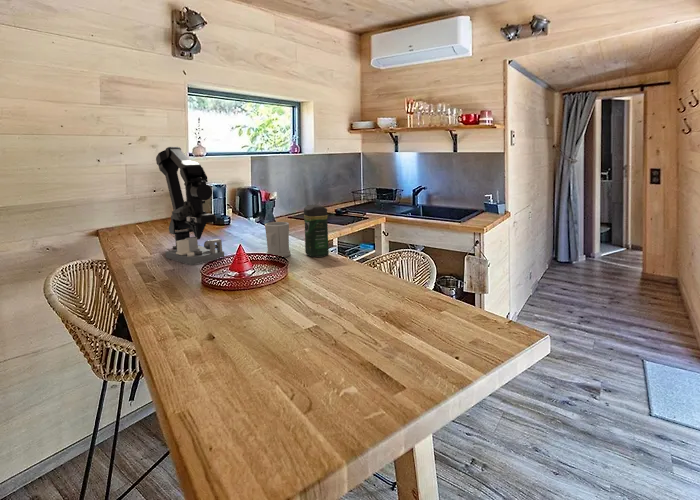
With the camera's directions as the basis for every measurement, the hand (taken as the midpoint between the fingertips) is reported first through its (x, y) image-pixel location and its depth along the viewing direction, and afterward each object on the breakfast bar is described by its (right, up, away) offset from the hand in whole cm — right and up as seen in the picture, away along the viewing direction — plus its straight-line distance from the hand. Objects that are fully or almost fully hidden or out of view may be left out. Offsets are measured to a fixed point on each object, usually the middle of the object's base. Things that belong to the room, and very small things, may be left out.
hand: (198, 239), depth 177 cm
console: (0, -7, -5) cm, 8 cm away
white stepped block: (-1, -4, -5) cm, 6 cm away
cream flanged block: (-2, -5, -9) cm, 11 cm away
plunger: (+7, -4, -5) cm, 10 cm away
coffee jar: (+45, -6, -4) cm, 46 cm away
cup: (+31, -6, -5) cm, 32 cm away
